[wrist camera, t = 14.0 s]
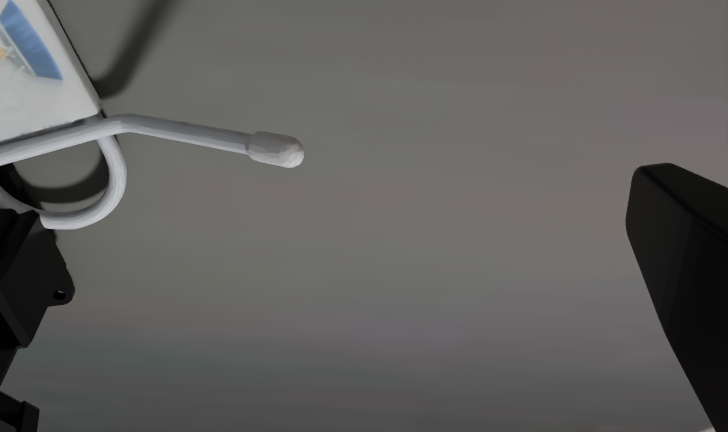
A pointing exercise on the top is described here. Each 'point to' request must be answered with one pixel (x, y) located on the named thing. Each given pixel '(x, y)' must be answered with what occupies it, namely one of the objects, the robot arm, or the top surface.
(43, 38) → the wall mount rack
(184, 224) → the top surface
